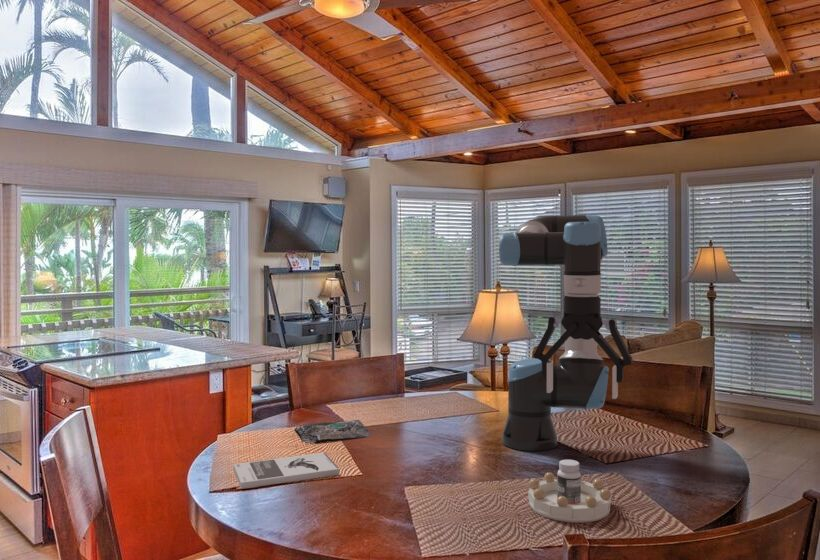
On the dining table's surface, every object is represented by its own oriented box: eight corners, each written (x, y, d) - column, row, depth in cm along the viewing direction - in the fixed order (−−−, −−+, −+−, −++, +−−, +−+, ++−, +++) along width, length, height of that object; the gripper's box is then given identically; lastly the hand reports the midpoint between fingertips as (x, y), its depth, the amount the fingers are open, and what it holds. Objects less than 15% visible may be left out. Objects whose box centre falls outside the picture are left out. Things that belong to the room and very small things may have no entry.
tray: (519, 514, 128) (519, 491, 128) (538, 486, 143) (538, 466, 143) (605, 529, 121) (605, 504, 121) (615, 497, 136) (615, 476, 136)
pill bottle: (554, 498, 134) (554, 459, 134) (575, 497, 134) (576, 458, 134) (561, 506, 129) (561, 466, 129) (583, 505, 130) (584, 465, 129)
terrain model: (304, 447, 176) (304, 436, 176) (294, 433, 190) (294, 422, 190) (374, 439, 184) (373, 428, 183) (359, 426, 198) (359, 415, 198)
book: (241, 491, 143) (241, 482, 143) (233, 472, 156) (233, 464, 156) (339, 476, 152) (339, 468, 152) (324, 459, 165) (324, 452, 165)
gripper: (519, 295, 135) (519, 392, 137) (643, 298, 125) (642, 404, 126) (528, 292, 142) (528, 385, 143) (646, 295, 131) (645, 395, 133)
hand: (581, 394), depth 135 cm, fingers open, 13 cm apart
